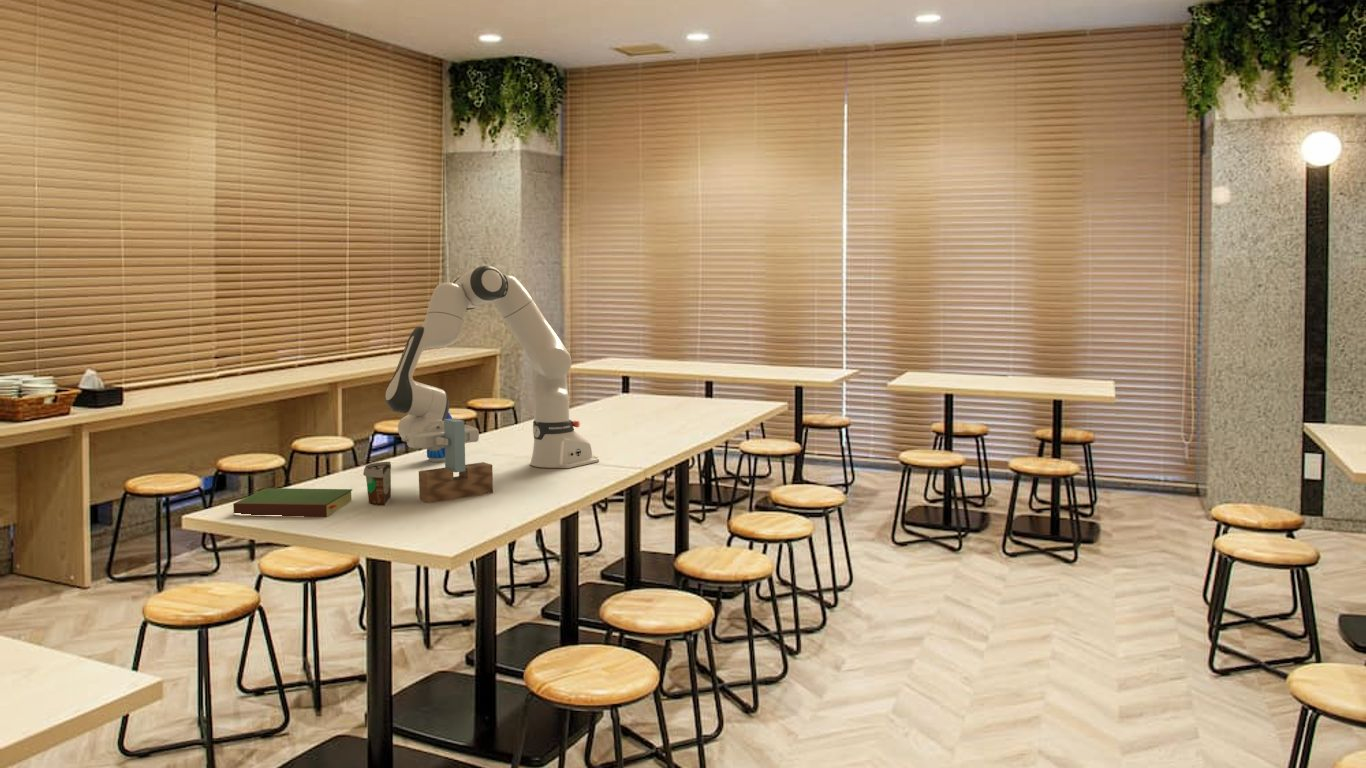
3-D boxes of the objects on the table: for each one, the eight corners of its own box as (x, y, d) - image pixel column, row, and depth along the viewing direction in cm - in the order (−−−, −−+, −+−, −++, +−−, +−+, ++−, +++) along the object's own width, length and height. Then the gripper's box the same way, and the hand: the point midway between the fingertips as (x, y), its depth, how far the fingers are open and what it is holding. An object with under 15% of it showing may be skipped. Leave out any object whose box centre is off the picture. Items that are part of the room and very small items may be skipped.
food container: (369, 497, 299) (368, 461, 298) (392, 496, 299) (390, 461, 298) (359, 507, 286) (358, 470, 285) (383, 506, 287) (382, 469, 286)
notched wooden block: (484, 489, 308) (483, 462, 307) (492, 492, 304) (492, 464, 303) (419, 499, 295) (418, 471, 294) (428, 503, 291) (427, 473, 290)
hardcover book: (234, 517, 277) (233, 503, 277) (266, 501, 296) (265, 488, 295) (329, 519, 276) (328, 504, 275) (355, 502, 294) (355, 489, 294)
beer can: (447, 462, 348) (445, 413, 346) (422, 461, 350) (421, 413, 348) (457, 458, 356) (456, 410, 355) (433, 457, 358) (432, 409, 356)
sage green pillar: (454, 467, 302) (453, 418, 300) (465, 471, 297) (464, 420, 296) (445, 469, 300) (444, 419, 298) (455, 472, 295) (454, 421, 294)
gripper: (398, 427, 301) (421, 433, 290) (464, 420, 314) (488, 426, 303) (399, 449, 301) (421, 456, 291) (464, 442, 314) (488, 448, 304)
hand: (456, 441), depth 297 cm, fingers closed on sage green pillar, 3 cm apart
